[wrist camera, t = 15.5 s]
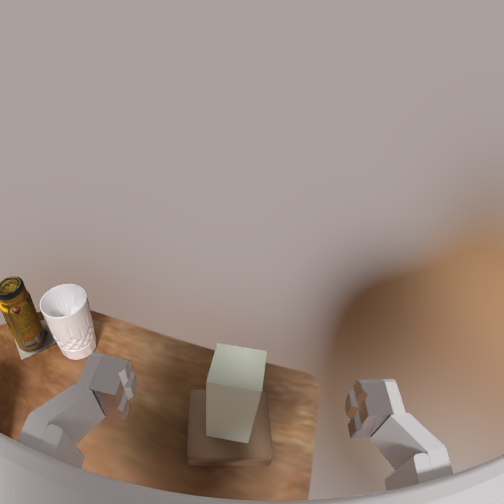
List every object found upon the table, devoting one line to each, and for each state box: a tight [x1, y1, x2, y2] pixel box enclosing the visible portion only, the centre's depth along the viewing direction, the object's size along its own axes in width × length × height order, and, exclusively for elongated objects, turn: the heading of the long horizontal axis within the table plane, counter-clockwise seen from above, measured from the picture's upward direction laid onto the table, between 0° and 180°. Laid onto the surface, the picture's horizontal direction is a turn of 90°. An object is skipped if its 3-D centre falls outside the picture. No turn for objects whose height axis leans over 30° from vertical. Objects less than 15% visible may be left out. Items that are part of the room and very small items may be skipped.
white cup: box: [40, 284, 97, 360], centre depth 42 cm, size 8×8×10 cm
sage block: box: [206, 343, 267, 443], centre depth 31 cm, size 5×5×12 cm
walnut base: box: [187, 389, 274, 467], centre depth 35 cm, size 10×10×4 cm
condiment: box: [0, 277, 57, 360], centre depth 41 cm, size 7×8×12 cm
